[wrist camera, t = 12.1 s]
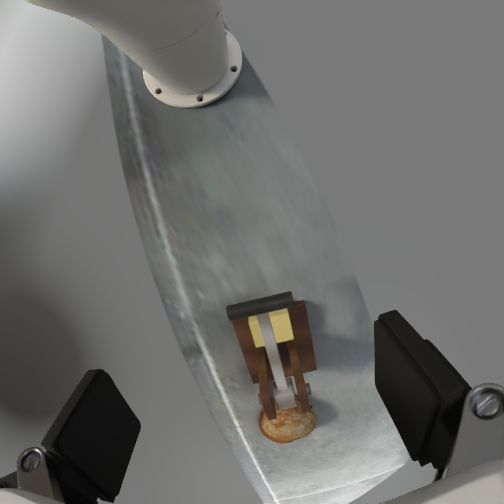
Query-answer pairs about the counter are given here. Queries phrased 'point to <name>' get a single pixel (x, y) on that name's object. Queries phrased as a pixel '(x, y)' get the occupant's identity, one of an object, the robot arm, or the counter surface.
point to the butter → (279, 326)
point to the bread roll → (288, 423)
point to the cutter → (292, 357)
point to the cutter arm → (269, 340)
